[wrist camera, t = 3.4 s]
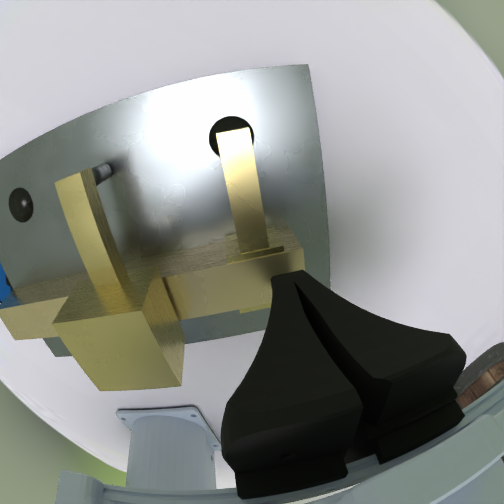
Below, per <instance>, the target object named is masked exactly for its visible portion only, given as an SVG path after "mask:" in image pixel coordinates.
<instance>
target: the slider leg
mask: <svg viewBox="0 0 504 504" xmlns="http://www.w3.org/2000/svg"><path fill="white" fill-rule="evenodd" d="M110 176H111V168H110V166H109V165H108V164H105V163H103V164H100V165H98V166H96V167H93V168H91V167H90V168H87V169H85V170H82V171H79V172H77V173H74V174H72V175H69V176H67V177H65V178H63V179H61V180H59V181H57V182H55V187H56V190H57V193H58V196H59V199H60V203H61V206H62V209H63V212H64V214H65V217H66V220H67V223H68V226H69V228H70V231H71V234H72V236H73V239H74V241H75V244H76V246H77V249H78V251H79V254H80V256H81V258H82V261H83V263H84V265H85V268H86V270H87V272H88V274H89V276H90V279H88V280H84V281H79V282H78V283H77V284H76V286H75V287H74V289H73V290H72V292H71V293H70V295H69V296H68V298H67V300H66V301H65V303H64V304H63V306H62V307H61V309H60V311H59V312H58V314H57V315H56V317H55V319H54V320H53V322H52V326H53V327H54V329H55V330H56V332H57V334H58V335H59V337H60V338H61V340H62V341H63V343H64V344H65V346H66V347H67V348H68V350H69V351H70V353H71V354H72V356H73V357H74V358H75V360H76V361H77V363H78V364H79V365H80V367H81V368H82V369H83V371H84V372H85V373H86V374H87V376H88V377H89V378H90V380H91V381H92V382H93V383H94V385H95V386H96V387H97V388H98V389H99V391H123V390H142V389H156V388H167V387H177V386H182V371H183V357H184V345H185V335H184V333H183V330H182V328H181V326H180V323H179V321H178V318H177V316H176V314H175V311H174V309H173V306H172V304H171V301H170V299H169V296H168V294H167V291H166V289H165V286H164V283H163V281H162V278H161V275H160V273H159V270H158V267H157V265H153V266H149V267H144V268H139V269H134V270H130V271H126V269H125V266H124V264H123V261H122V259H121V256H120V254H119V251H118V249H117V246H116V243H115V240H114V238H113V235H112V232H111V229H110V227H109V224H108V221H107V218H106V215H105V212H104V209H103V206H102V203H101V199H100V196H99V193H98V190H97V186H98V185H99V184H101V183H102V182H104V181H106V180H107V179H109V178H110Z"/></svg>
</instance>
